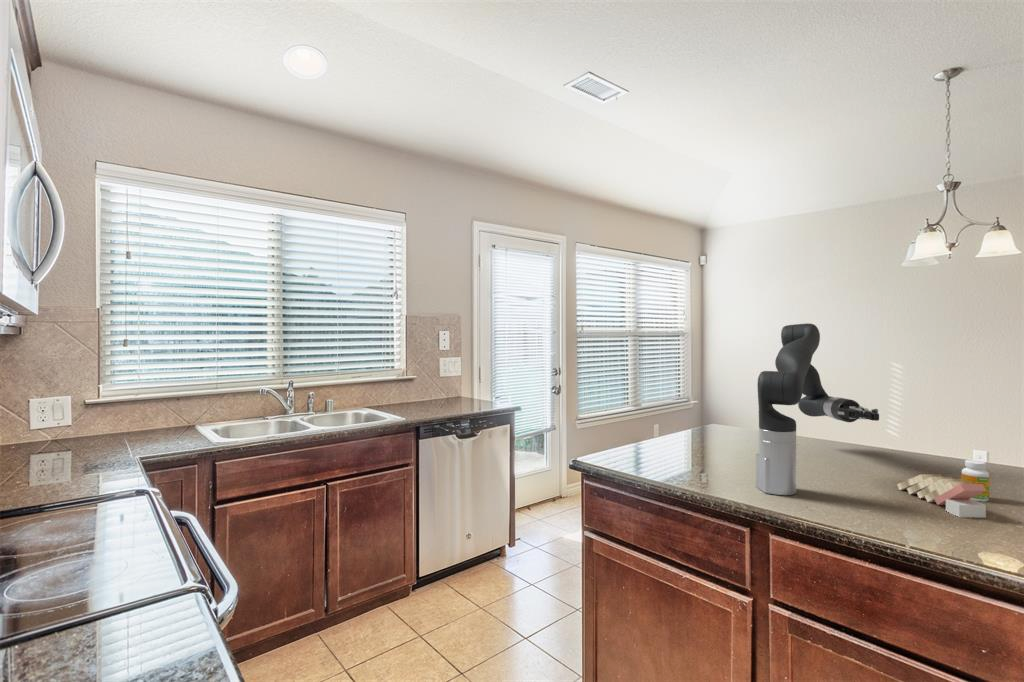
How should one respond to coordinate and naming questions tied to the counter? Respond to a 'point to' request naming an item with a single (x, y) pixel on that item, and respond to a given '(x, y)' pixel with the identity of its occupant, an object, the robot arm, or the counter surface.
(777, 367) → the robot arm
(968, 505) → the block
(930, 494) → the domino
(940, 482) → the domino
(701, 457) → the counter surface
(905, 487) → the domino
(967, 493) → the domino
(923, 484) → the domino
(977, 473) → the supplement bottle
